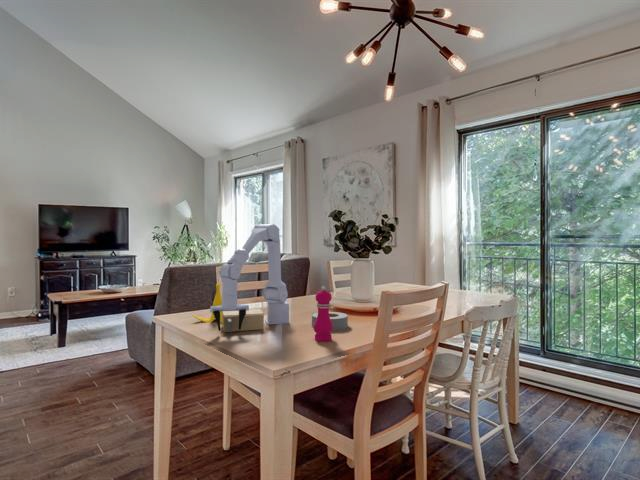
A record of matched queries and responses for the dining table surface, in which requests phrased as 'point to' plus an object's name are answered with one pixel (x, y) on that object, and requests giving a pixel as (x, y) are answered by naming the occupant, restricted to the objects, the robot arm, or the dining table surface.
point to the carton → (236, 313)
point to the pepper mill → (323, 316)
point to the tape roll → (335, 320)
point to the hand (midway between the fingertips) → (229, 329)
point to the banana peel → (216, 302)
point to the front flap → (244, 323)
